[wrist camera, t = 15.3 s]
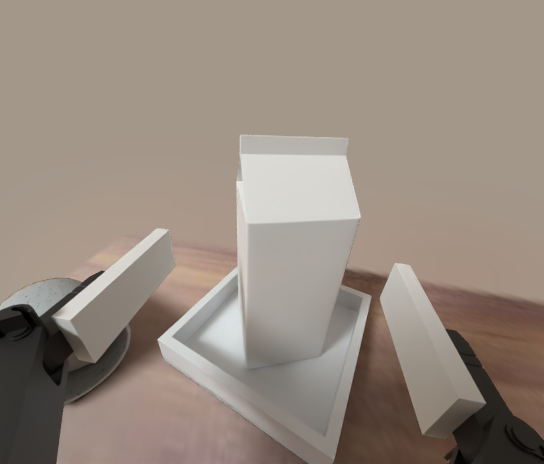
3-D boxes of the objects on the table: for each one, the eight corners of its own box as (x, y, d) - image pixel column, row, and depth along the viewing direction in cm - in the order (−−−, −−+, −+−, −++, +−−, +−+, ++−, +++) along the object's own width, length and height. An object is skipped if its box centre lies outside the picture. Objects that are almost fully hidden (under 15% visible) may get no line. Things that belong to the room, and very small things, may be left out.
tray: (364, 313, 28) (371, 296, 26) (325, 475, 16) (334, 460, 14) (253, 267, 34) (254, 250, 32) (163, 359, 22) (157, 339, 20)
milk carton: (320, 357, 22) (381, 150, 12) (245, 371, 21) (247, 147, 11) (297, 300, 28) (326, 130, 18) (238, 308, 26) (235, 126, 17)
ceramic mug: (101, 309, 26) (73, 254, 22) (142, 352, 22) (117, 295, 18) (-46, 395, 18) (-130, 336, 14) (-23, 483, 15) (-129, 436, 10)
